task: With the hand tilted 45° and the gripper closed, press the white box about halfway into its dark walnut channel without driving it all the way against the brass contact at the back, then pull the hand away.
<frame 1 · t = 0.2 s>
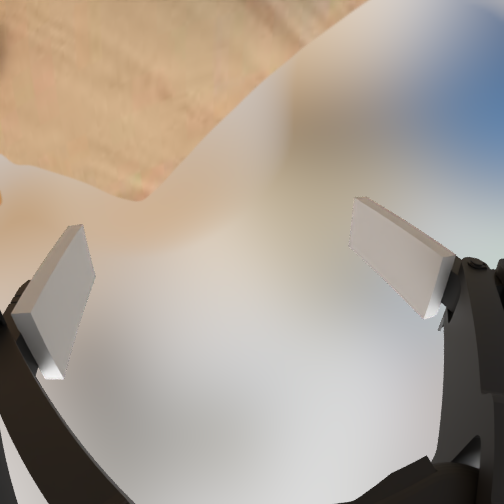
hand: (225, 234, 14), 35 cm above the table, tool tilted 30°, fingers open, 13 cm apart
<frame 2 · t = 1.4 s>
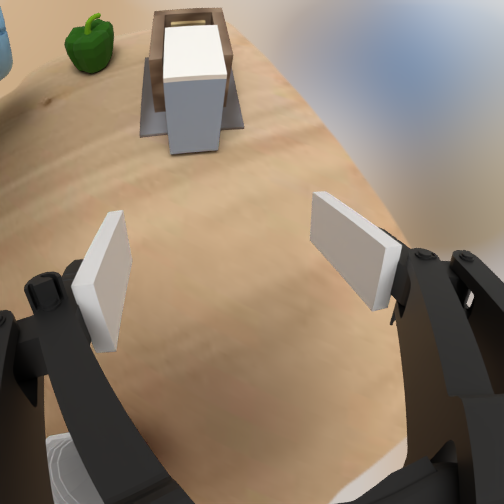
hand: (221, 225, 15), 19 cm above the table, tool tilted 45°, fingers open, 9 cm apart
plastic cup: (125, 453, 26), on the table
white box: (191, 88, 33), point 7 cm above the table, slide at 0.0 cm
housing: (189, 92, 42), on the table
bell pepper: (95, 65, 42), on the table
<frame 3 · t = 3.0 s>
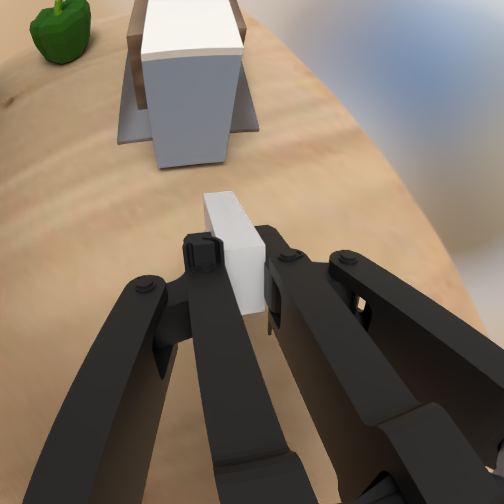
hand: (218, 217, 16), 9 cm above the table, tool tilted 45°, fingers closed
white box: (187, 75, 22), point 7 cm above the table, slide at 0.0 cm
housing: (184, 83, 31), on the table
bell pepper: (69, 54, 31), on the table
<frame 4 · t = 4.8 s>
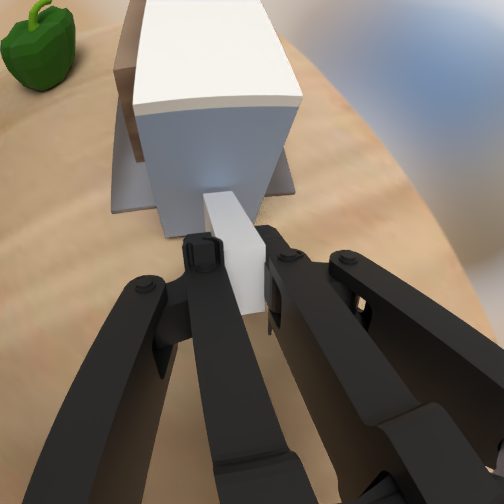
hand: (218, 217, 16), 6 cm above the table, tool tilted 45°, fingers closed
white box: (202, 114, 17), point 7 cm above the table, slide at 1.3 cm, touching gripper
housing: (194, 121, 25), on the table
bell pepper: (51, 77, 26), on the table
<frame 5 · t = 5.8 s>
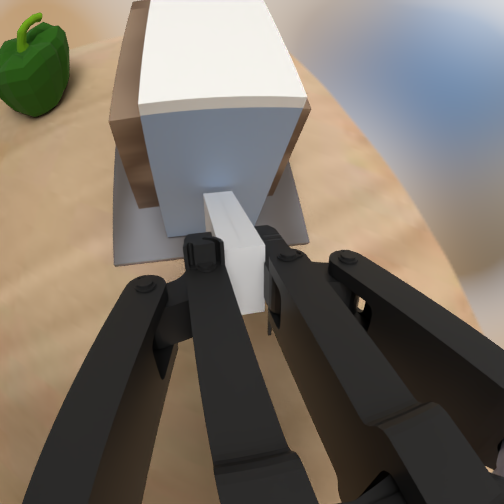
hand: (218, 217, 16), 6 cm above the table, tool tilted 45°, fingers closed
white box: (205, 114, 17), point 7 cm above the table, slide at 5.4 cm, touching gripper
housing: (201, 159, 24), on the table
bell pepper: (45, 100, 25), on the table
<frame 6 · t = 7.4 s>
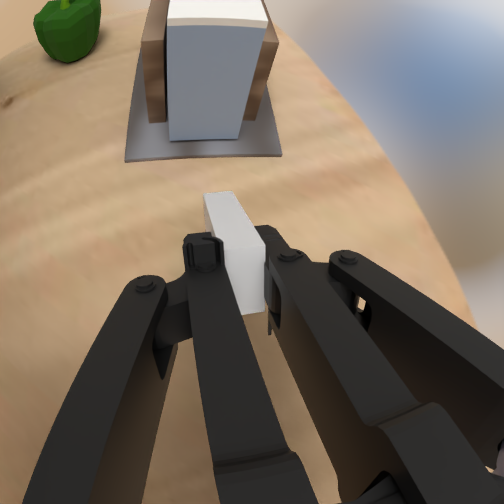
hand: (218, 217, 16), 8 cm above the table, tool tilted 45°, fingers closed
white box: (206, 50, 22), point 7 cm above the table, slide at 5.4 cm
housing: (200, 94, 29), on the table
bell pepper: (75, 52, 29), on the table
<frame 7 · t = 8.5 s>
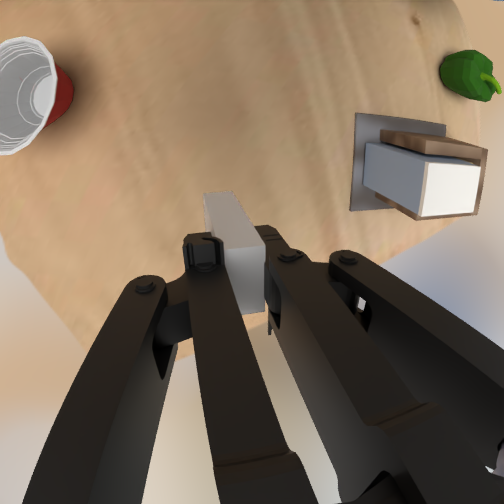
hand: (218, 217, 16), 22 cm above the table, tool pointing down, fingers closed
plastic cup: (51, 95, 28), on the table
white box: (420, 175, 36), point 7 cm above the table, slide at 5.4 cm
housing: (397, 163, 42), on the table
bell pepper: (448, 74, 37), on the table
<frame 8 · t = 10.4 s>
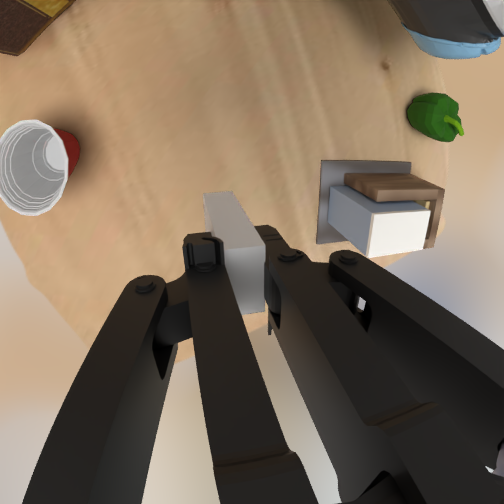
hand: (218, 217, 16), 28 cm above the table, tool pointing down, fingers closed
plastic cup: (61, 151, 37), on the table
white box: (376, 216, 44), point 7 cm above the table, slide at 5.4 cm
housing: (361, 200, 51), on the table
bell pepper: (417, 113, 46), on the table
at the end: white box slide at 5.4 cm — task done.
